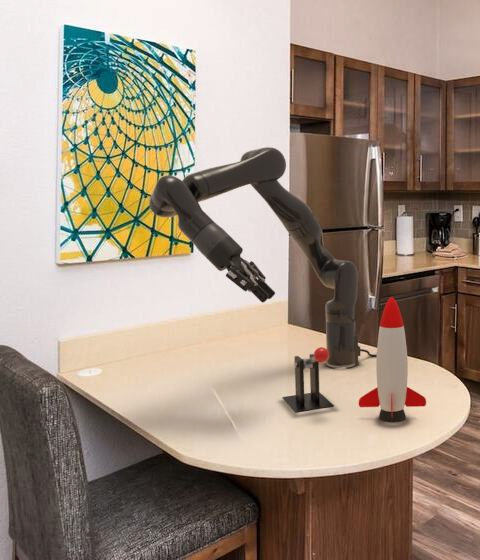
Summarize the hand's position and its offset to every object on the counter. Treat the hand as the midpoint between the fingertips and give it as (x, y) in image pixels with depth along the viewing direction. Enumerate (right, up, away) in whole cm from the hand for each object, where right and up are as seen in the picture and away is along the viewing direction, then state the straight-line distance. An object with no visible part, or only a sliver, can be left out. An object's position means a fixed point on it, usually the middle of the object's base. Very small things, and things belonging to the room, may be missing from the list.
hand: (269, 297), depth 145 cm
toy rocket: (+29, -30, +2) cm, 41 cm away
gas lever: (+10, -17, +6) cm, 21 cm away
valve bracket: (+8, -28, +13) cm, 32 cm away
